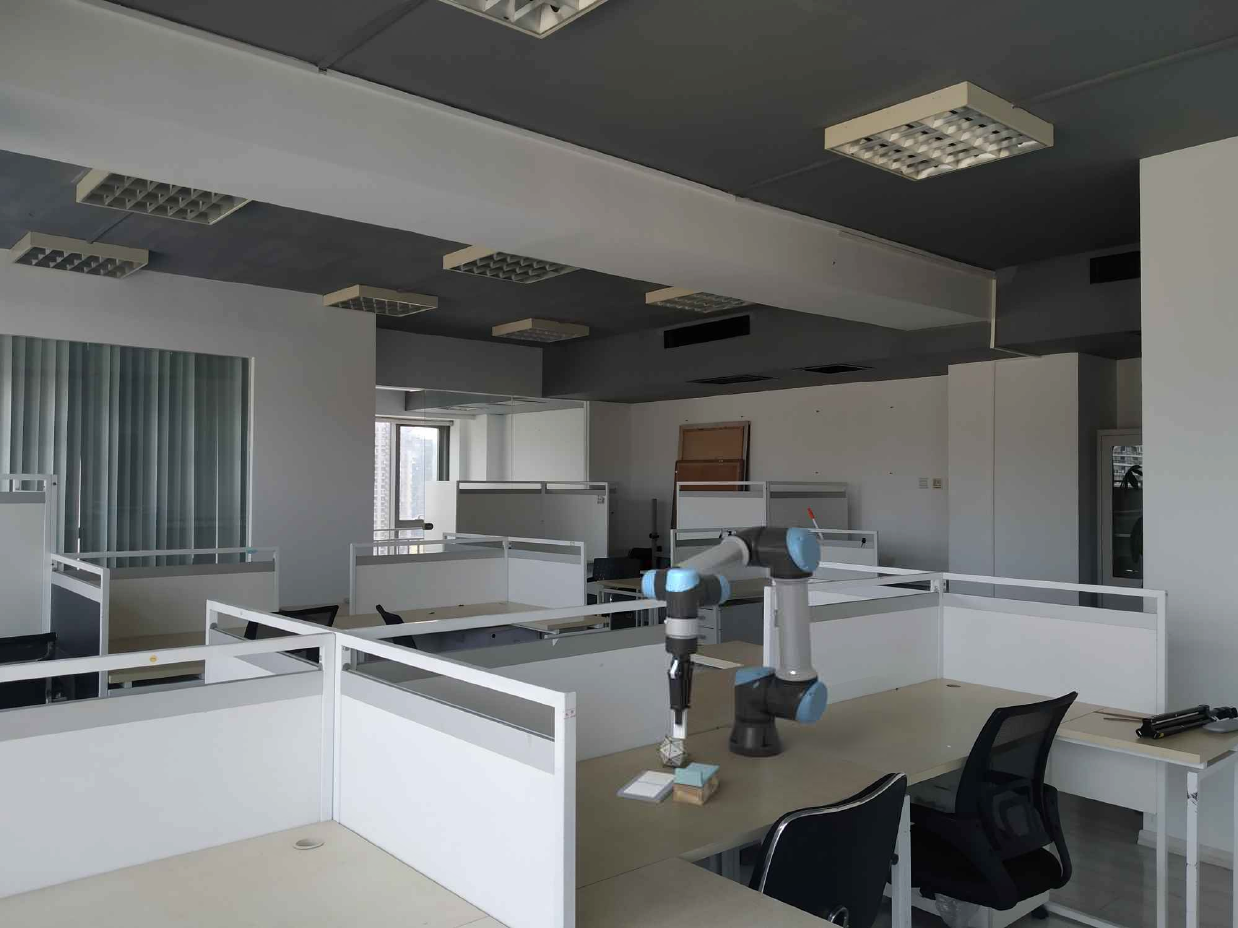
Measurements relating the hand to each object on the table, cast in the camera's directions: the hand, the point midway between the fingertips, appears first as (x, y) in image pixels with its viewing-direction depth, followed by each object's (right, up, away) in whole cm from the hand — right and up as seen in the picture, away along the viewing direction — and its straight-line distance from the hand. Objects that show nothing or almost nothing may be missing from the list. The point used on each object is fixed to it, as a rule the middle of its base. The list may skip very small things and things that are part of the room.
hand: (679, 737), depth 208 cm
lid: (+5, -13, +12) cm, 18 cm away
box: (+5, -17, +12) cm, 22 cm away
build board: (-6, -17, +15) cm, 24 cm away
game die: (0, -18, +32) cm, 37 cm away
